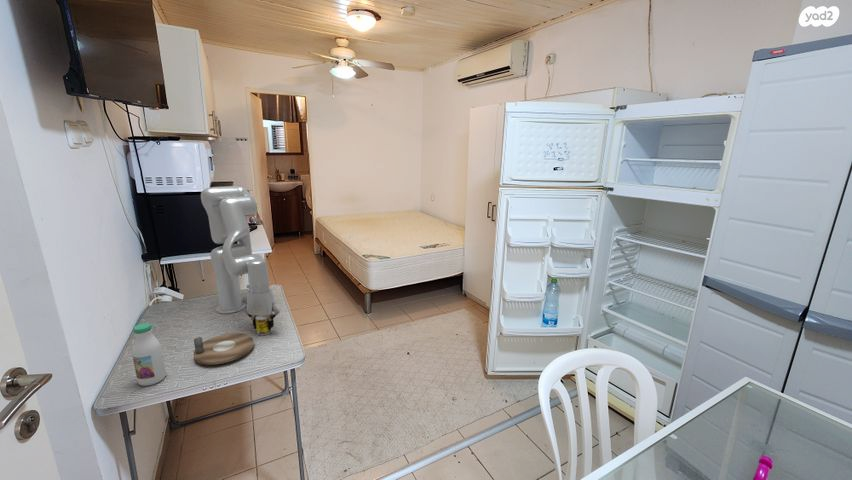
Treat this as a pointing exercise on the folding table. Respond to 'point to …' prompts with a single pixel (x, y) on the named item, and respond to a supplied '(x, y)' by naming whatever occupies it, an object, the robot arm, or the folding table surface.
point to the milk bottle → (147, 356)
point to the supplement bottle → (262, 325)
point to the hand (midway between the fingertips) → (263, 327)
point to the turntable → (222, 348)
